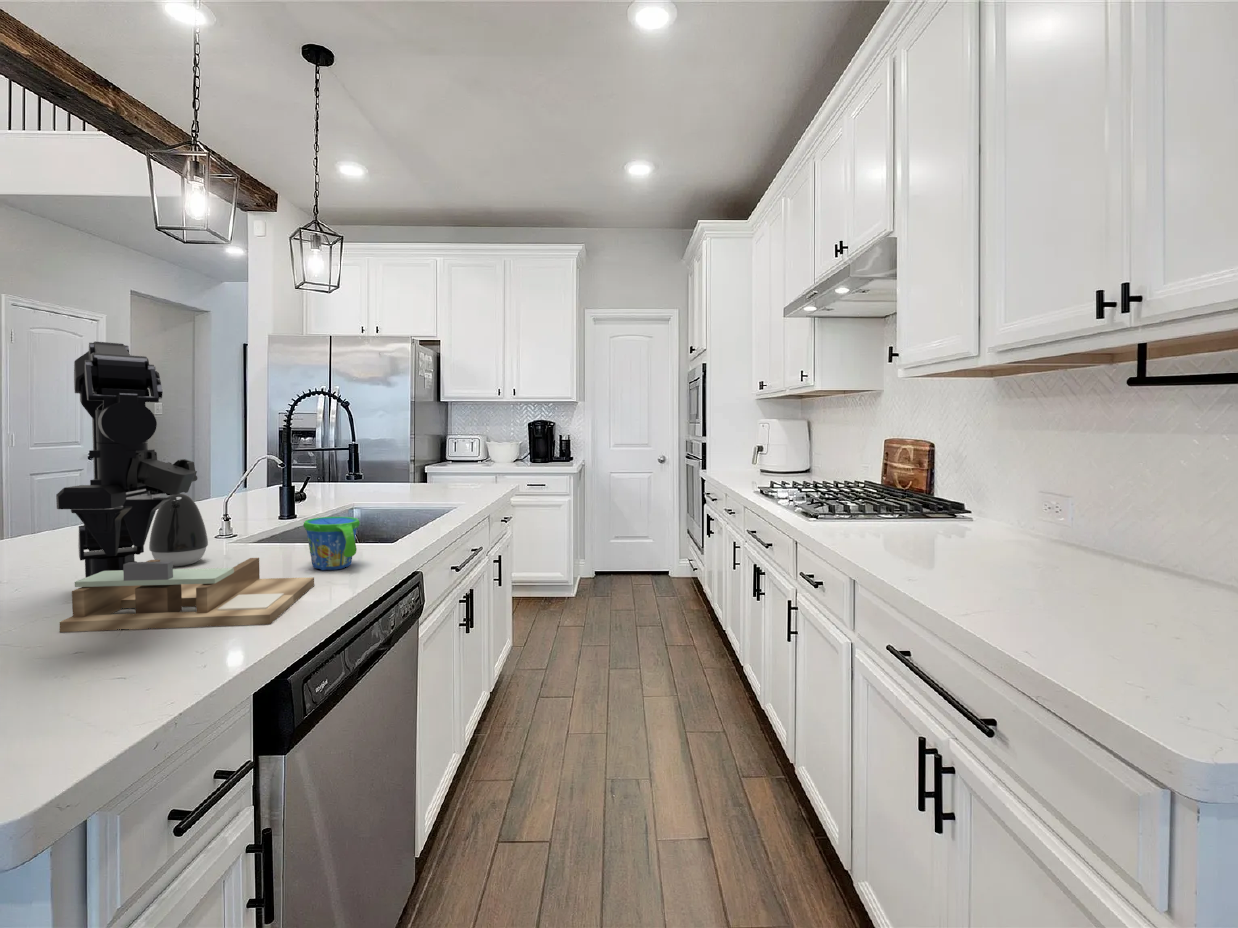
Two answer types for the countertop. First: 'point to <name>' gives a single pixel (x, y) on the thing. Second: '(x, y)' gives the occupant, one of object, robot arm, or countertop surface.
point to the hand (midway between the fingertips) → (126, 550)
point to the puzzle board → (186, 603)
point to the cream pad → (251, 602)
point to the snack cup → (331, 541)
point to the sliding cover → (154, 575)
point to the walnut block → (158, 598)
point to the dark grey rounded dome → (178, 532)
